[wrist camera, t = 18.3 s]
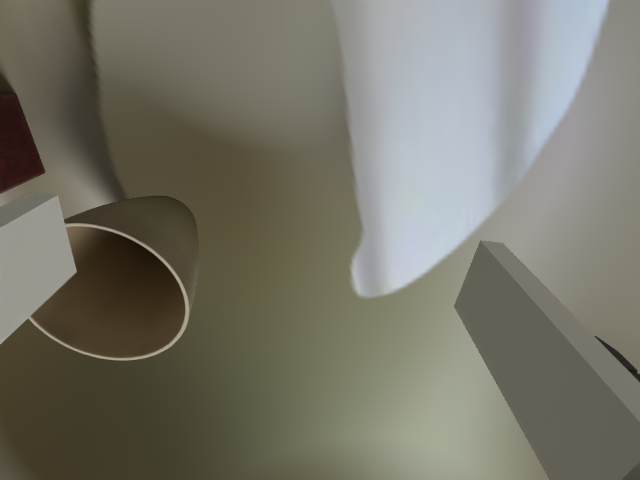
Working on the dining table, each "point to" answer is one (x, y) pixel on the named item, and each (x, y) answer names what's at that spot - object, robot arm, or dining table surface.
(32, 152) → the red grey bottle
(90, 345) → the plant pot
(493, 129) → the dining table surface
